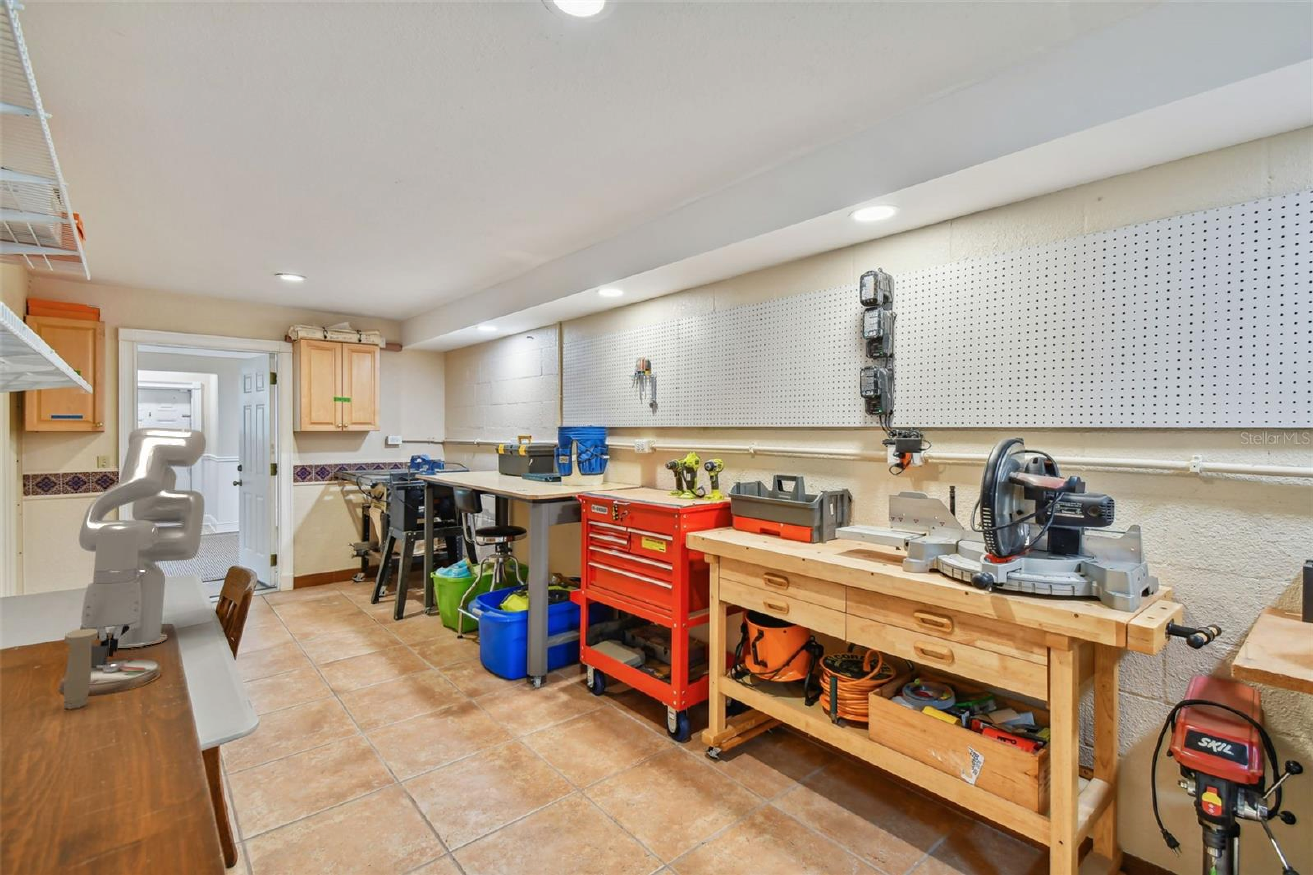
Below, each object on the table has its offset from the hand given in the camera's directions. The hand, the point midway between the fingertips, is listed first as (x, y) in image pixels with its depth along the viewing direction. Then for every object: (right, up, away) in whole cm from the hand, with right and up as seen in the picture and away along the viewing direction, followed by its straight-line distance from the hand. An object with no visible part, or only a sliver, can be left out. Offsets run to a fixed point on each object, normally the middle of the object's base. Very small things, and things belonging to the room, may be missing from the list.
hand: (108, 655), depth 138 cm
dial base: (+4, -5, -3) cm, 7 cm away
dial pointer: (+4, -2, -3) cm, 5 cm away
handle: (+9, -5, -17) cm, 19 cm away
